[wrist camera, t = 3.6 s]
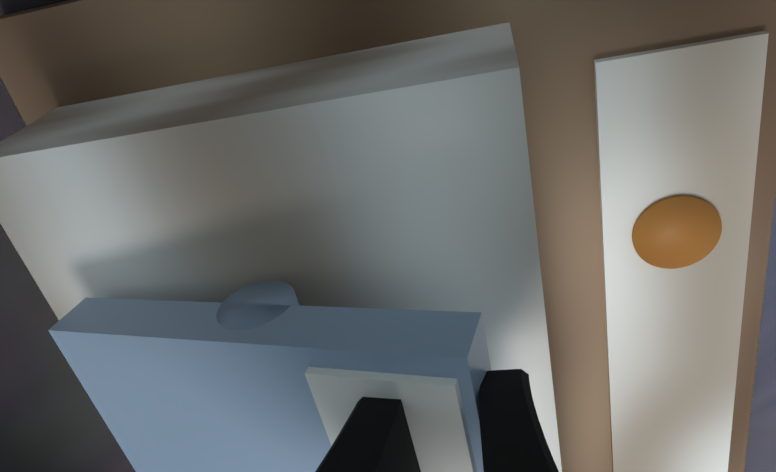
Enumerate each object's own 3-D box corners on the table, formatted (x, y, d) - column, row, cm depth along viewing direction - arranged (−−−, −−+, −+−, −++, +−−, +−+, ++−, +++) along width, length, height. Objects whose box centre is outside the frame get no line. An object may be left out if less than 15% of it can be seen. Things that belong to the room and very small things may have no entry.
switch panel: (300, 604, 26) (273, 718, 22) (3, 15, 14) (-149, 65, 10) (715, 607, 22) (759, 741, 19) (788, -166, 11) (938, -178, 7)
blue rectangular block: (181, 412, 15) (131, 477, 13) (109, 276, 13) (41, 335, 11) (516, 454, 12) (500, 544, 10) (490, 284, 10) (465, 366, 8)
